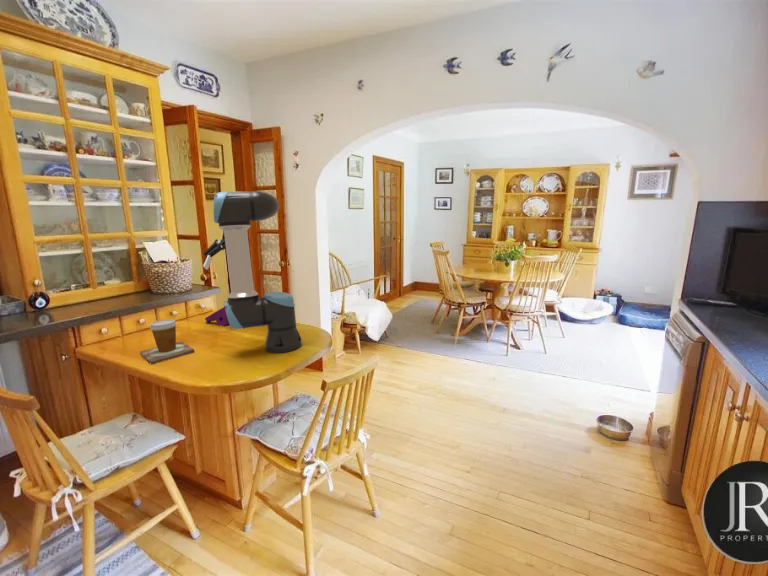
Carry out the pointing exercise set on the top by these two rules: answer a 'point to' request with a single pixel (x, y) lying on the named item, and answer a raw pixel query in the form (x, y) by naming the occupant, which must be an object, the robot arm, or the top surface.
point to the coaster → (166, 353)
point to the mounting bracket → (219, 317)
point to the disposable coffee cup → (164, 334)
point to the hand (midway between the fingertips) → (218, 267)
